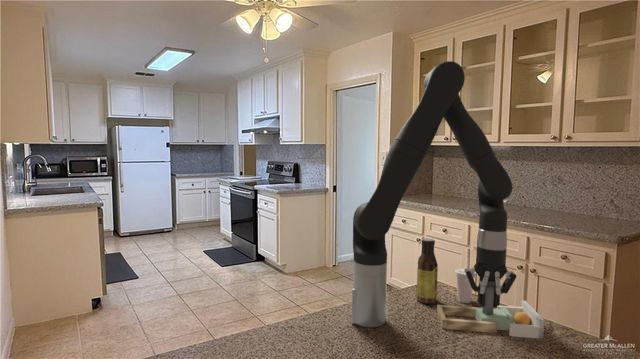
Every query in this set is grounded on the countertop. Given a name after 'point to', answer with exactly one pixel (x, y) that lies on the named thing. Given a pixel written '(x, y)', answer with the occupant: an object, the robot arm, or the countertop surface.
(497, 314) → the striker
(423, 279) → the sauce bottle
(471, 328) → the wooden rectangular frame
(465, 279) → the smoothie
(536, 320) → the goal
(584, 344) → the countertop surface
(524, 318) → the ball
